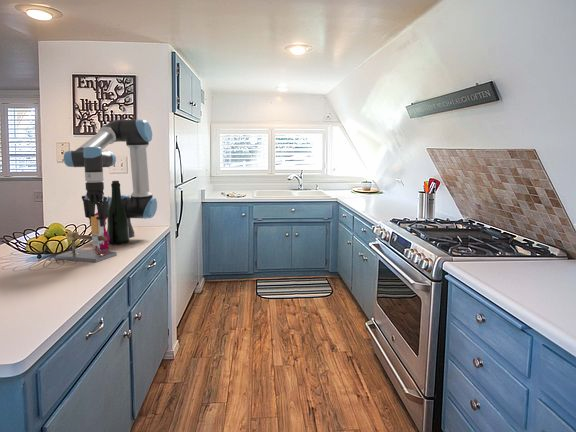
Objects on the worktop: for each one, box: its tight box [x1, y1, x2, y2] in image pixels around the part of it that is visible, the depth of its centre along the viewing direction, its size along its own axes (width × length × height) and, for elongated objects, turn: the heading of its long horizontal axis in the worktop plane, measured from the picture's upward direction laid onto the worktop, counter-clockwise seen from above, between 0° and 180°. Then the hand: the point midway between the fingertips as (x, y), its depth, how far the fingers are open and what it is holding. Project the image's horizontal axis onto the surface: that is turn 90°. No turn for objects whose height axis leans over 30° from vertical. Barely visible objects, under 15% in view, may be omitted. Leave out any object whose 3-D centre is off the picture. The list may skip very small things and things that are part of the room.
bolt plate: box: [55, 248, 117, 263], centre depth 213 cm, size 14×22×2 cm, turn 73°
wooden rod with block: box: [66, 231, 107, 253], centre depth 212 cm, size 4×20×9 cm, turn 73°
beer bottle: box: [106, 180, 130, 246], centre depth 240 cm, size 10×10×33 cm
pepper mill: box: [94, 211, 110, 251], centre depth 229 cm, size 7×7×20 cm
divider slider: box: [90, 215, 104, 253], centre depth 209 cm, size 4×3×17 cm
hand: (97, 233), depth 209 cm, fingers closed on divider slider, 3 cm apart
